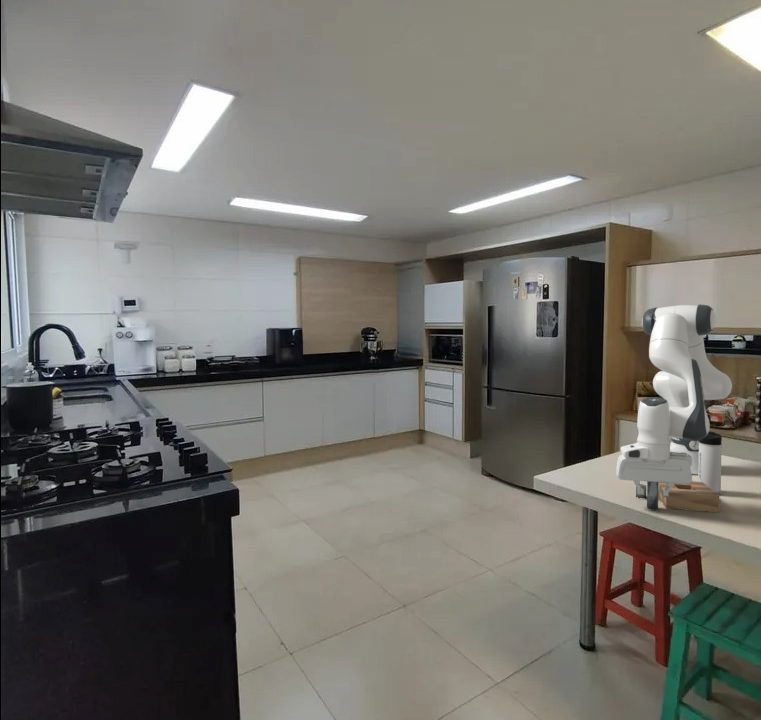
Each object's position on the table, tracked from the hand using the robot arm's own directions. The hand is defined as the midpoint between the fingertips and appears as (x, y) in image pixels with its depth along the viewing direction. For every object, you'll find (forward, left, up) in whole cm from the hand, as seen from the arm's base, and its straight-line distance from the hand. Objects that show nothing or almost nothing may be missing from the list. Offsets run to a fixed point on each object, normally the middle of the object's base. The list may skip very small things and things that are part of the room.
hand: (652, 495), depth 145 cm
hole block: (-8, +11, -4) cm, 14 cm away
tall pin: (0, 0, -4) cm, 4 cm away
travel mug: (-21, +22, -4) cm, 31 cm away
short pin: (-10, -1, -4) cm, 11 cm away
